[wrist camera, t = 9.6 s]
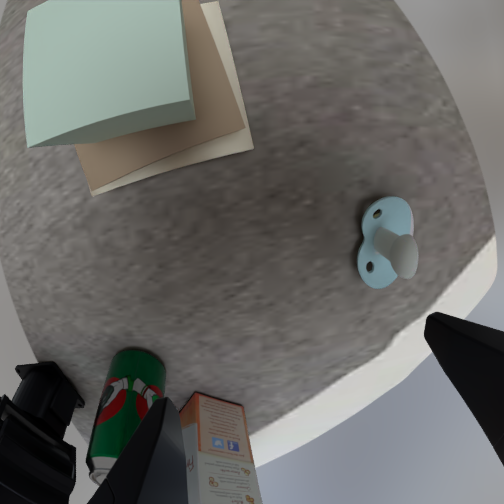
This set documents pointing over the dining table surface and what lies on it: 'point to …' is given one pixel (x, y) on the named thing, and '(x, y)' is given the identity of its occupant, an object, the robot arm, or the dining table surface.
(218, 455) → the cracker box
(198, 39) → the top slab
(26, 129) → the sage block
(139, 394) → the soda can
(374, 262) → the pacifier
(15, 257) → the dining table surface
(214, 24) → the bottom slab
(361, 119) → the dining table surface
